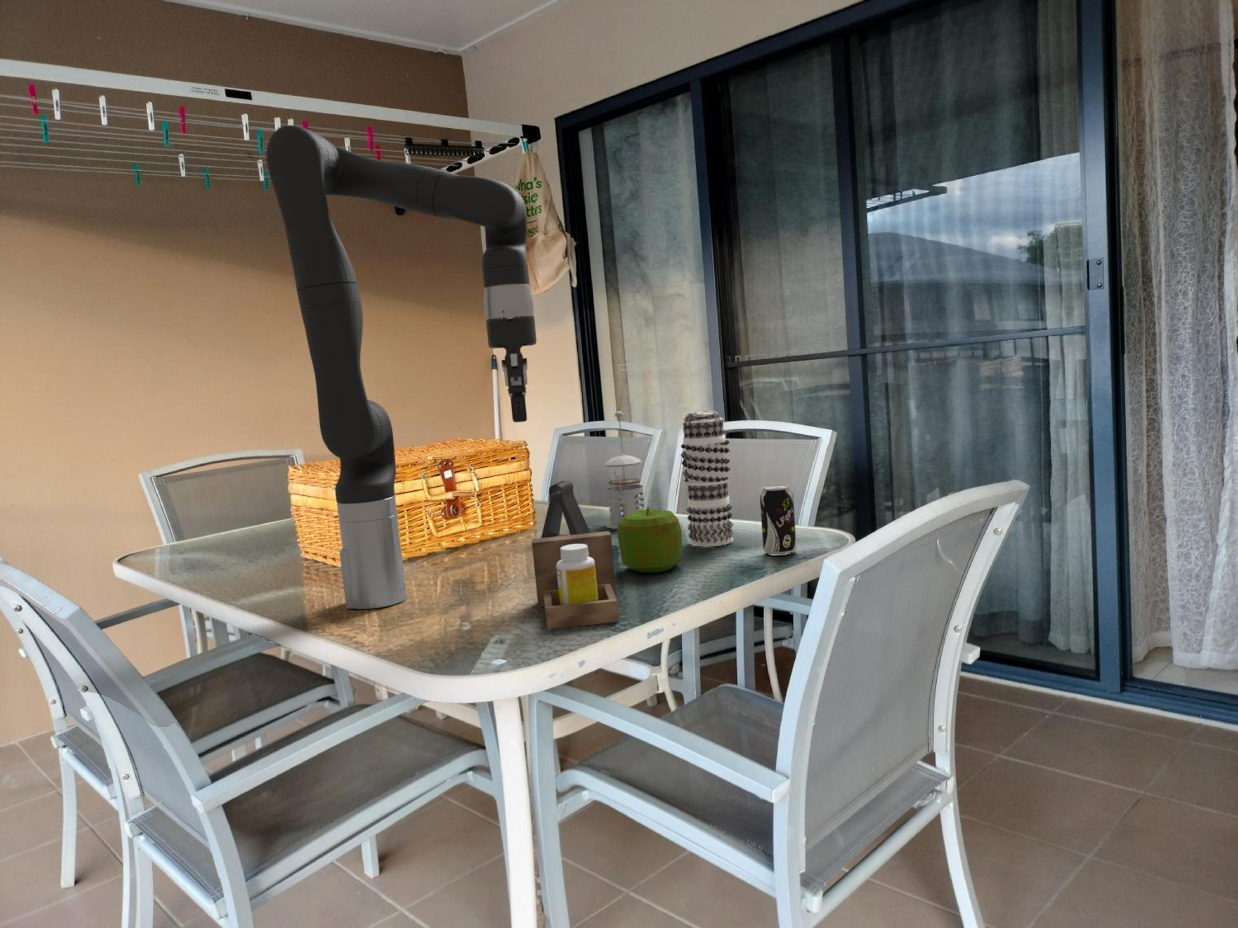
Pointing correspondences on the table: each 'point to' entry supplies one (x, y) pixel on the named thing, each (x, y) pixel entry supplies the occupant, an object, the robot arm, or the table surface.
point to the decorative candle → (706, 479)
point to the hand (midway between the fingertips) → (519, 420)
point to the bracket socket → (547, 581)
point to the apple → (650, 540)
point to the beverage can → (778, 519)
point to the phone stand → (563, 511)
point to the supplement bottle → (576, 575)
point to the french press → (623, 488)
